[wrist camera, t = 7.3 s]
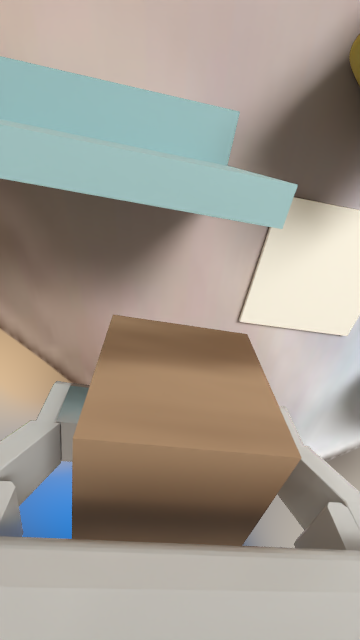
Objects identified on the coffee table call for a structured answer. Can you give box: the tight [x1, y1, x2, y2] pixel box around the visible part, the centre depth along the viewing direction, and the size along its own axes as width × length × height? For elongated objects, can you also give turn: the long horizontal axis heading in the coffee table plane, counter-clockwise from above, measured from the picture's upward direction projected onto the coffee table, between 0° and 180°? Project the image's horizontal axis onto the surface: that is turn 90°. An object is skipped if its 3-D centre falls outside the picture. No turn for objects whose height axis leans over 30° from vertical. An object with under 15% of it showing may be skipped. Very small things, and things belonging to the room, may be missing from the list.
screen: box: [0, 56, 298, 229], centre depth 14 cm, size 5×18×14 cm, turn 80°
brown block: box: [72, 315, 302, 546], centre depth 9 cm, size 5×5×5 cm
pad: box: [239, 197, 360, 336], centre depth 26 cm, size 12×12×1 cm
